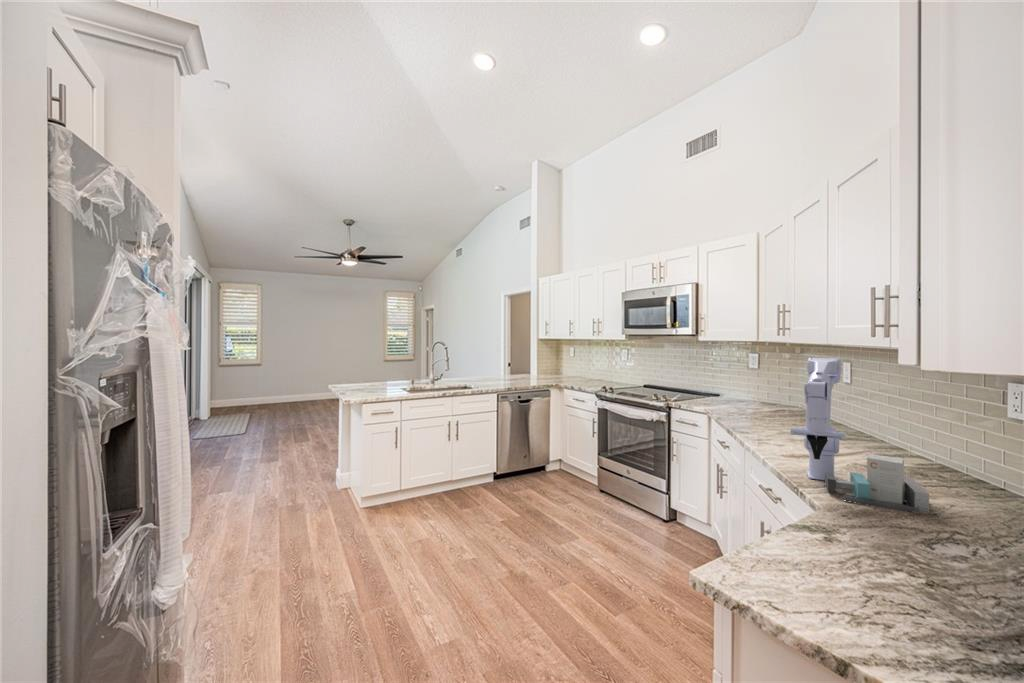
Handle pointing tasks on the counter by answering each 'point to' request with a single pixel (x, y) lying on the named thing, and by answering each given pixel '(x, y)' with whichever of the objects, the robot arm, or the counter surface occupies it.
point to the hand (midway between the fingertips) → (816, 458)
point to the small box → (886, 478)
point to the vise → (912, 496)
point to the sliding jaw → (850, 484)
